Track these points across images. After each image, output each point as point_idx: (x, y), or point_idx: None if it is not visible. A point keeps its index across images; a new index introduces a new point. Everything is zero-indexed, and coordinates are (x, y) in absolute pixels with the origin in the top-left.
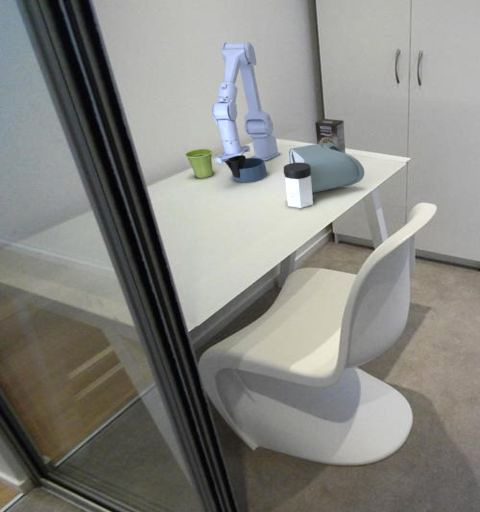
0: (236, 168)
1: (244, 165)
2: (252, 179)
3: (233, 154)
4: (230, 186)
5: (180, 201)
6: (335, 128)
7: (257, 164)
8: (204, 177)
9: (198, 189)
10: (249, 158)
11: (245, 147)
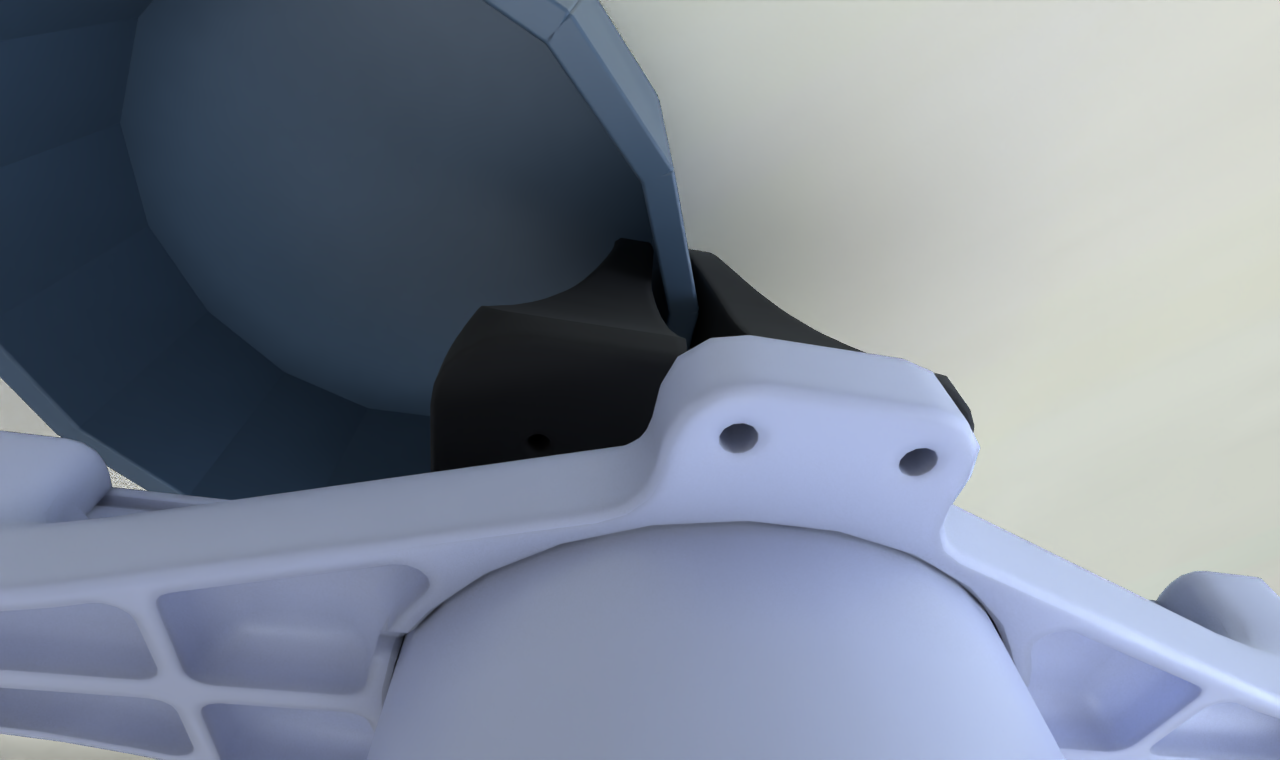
0: (799, 325)
1: (251, 421)
2: (609, 21)
3: (1052, 604)
4: (836, 280)
5: (1219, 527)
6: None
7: (72, 238)
8: None
9: None
10: (81, 425)
11: (22, 630)
